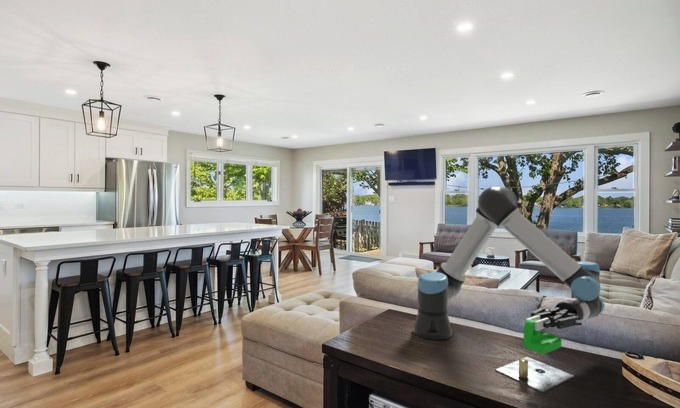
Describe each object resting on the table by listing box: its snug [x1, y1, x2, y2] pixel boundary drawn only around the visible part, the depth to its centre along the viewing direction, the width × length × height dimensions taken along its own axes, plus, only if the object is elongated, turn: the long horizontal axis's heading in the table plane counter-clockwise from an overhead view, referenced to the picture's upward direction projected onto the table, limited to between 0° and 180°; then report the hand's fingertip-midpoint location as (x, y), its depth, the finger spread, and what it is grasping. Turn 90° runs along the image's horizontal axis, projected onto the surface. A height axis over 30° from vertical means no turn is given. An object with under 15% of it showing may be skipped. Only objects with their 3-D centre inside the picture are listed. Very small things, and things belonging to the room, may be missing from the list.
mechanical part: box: [523, 319, 562, 355], centre depth 111 cm, size 12×6×8 cm, turn 121°
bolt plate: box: [495, 356, 575, 393], centre depth 113 cm, size 15×17×6 cm
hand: (531, 324), depth 110 cm, fingers closed on mechanical part, 2 cm apart
